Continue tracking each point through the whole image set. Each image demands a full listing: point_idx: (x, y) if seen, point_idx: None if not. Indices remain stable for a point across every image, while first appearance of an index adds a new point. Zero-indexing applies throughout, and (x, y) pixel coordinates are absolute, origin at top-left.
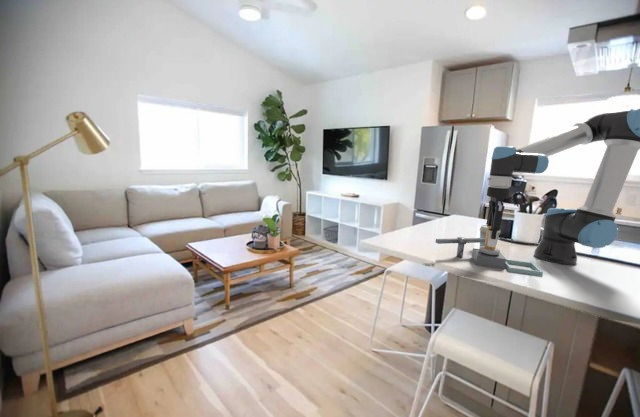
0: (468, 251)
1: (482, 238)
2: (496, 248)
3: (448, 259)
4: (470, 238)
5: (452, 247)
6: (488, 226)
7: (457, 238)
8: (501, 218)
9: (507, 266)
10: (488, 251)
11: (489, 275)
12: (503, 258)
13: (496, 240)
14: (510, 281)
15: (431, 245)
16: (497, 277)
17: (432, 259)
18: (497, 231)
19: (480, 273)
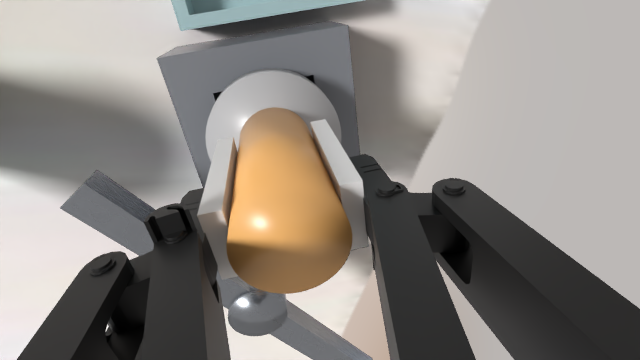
0: (48, 209)
1: (106, 215)
2: (226, 96)
3: None
4: None
5: (45, 283)
6: (300, 287)
7: (270, 330)
8: (615, 298)
9: (327, 5)
10: None
11: (430, 97)
12: (340, 42)
13: (292, 133)
14: (474, 3)
15: None
16: (442, 62)
17: (337, 302)
18: (362, 182)
19: (420, 134)
